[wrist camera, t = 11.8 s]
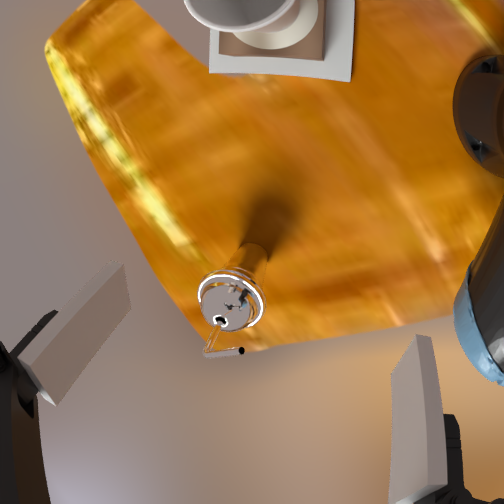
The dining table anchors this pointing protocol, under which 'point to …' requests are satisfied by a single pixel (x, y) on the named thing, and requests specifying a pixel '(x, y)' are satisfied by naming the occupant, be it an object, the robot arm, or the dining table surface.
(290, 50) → the brown block
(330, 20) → the board
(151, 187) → the dining table surface
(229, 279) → the cup with straw
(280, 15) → the dixie cup
